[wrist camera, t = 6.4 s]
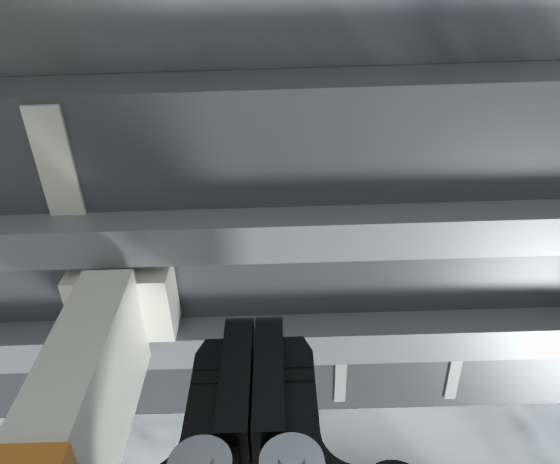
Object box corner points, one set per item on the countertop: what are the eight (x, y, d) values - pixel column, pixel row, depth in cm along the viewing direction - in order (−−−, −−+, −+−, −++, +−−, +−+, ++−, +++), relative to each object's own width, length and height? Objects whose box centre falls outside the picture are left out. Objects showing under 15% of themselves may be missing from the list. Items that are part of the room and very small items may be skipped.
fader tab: (169, 239, 16) (96, 475, 9) (183, 327, 18) (131, 577, 11) (67, 242, 16) (-77, 480, 9) (92, 330, 18) (-15, 580, 11)
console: (696, 56, 15) (796, 92, 12) (583, 362, 22) (631, 433, 19) (-145, 81, 15) (-242, 123, 12) (-14, 378, 22) (-58, 452, 19)
